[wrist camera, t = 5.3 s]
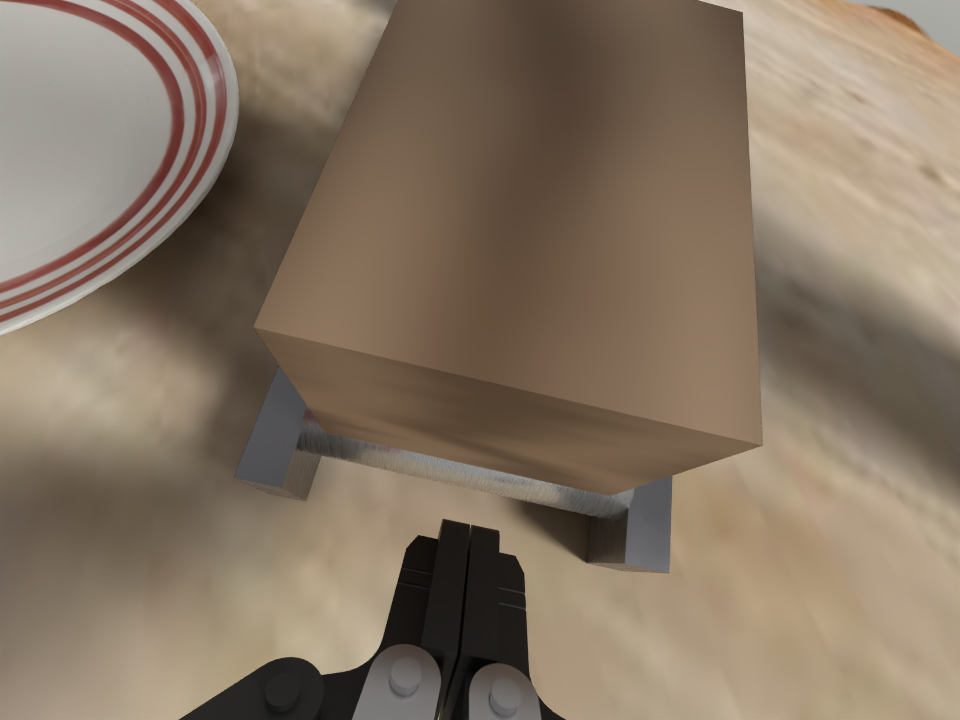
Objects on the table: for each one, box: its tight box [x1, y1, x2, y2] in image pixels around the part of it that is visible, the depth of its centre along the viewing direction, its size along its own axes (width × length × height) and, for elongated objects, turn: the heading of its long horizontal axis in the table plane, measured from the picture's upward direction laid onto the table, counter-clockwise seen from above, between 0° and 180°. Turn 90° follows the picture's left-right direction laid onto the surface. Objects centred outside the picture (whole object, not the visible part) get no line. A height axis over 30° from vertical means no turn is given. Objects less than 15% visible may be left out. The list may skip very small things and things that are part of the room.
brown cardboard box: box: [253, 0, 763, 496], centre depth 16 cm, size 10×14×8 cm
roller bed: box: [234, 365, 672, 573], centre depth 22 cm, size 15×30×9 cm, turn 169°
